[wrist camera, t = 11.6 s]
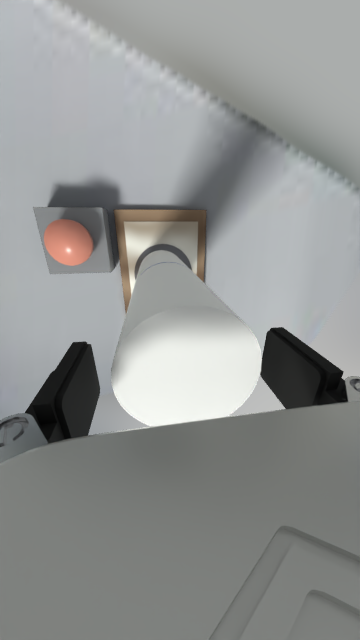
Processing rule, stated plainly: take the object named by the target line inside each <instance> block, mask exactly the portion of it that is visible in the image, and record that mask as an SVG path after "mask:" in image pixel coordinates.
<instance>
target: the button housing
mask: <svg viewBox="0 0 360 640" xmlns="http://www.w3.org/2000/svg"><path fill="white" fill-rule="evenodd" d="M33 210H34V213H35V217H36V221H37V225H38V229H39V233H40V237H41V241H42V245H43V249H44V253H45V257H46V261H47V265H48V269H49V272H50V274H72V273H106V272H112V271H113V270H114V268H115V266H114V258H113V251H112V243H111V235H110V227H109V220H108V212H107V210H106V209H104V208H95V207H33ZM59 219H68V220H73V221H76V222H78V223H80V224H82V225H83V226H84V227H85V228H86V229H87V230H88V231H89V233H90V235H91V237H92V240H93V252H92V255H91V256H90V258H89V259H88V260H87V261H85V262H83V263H81V264H79V265H75V266H69V265H65V264H62V263H60V262H58V261H56V260H55V259H54V258H53V257H52V256H51V255H50V254H49V252H48V251H47V249H46V247H45V243H44V233H45V230H46V228H47V226H48V225H49V224H50V223H51V222H53V221H55V220H59Z"/></svg>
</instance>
